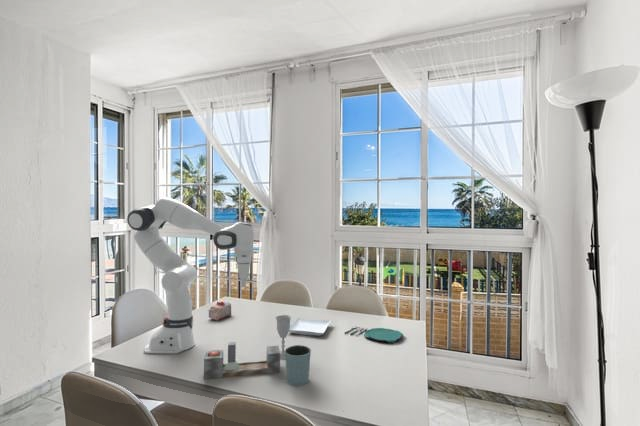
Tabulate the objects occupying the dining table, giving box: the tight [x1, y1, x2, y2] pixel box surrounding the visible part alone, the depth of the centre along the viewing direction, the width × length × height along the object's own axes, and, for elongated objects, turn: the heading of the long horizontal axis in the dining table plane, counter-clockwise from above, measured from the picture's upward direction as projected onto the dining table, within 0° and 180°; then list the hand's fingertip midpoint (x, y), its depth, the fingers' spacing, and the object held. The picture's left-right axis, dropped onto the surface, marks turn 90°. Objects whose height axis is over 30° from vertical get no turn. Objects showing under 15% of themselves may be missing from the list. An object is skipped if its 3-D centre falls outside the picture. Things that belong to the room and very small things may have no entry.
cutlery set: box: [344, 326, 404, 344], centre depth 187 cm, size 20×30×2 cm, turn 58°
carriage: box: [224, 341, 239, 371], centre depth 142 cm, size 5×5×10 cm
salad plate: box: [288, 317, 332, 337], centre depth 194 cm, size 21×21×3 cm
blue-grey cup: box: [284, 344, 312, 386], centre depth 136 cm, size 10×10×12 cm
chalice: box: [275, 314, 292, 360], centre depth 157 cm, size 7×7×18 cm
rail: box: [203, 345, 281, 380], centre depth 143 cm, size 30×8×8 cm, turn 103°
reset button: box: [209, 350, 219, 357], centre depth 140 cm, size 4×4×4 cm
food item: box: [208, 301, 232, 321], centre depth 214 cm, size 14×8×10 cm, turn 154°
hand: (243, 286), depth 161 cm, fingers closed
